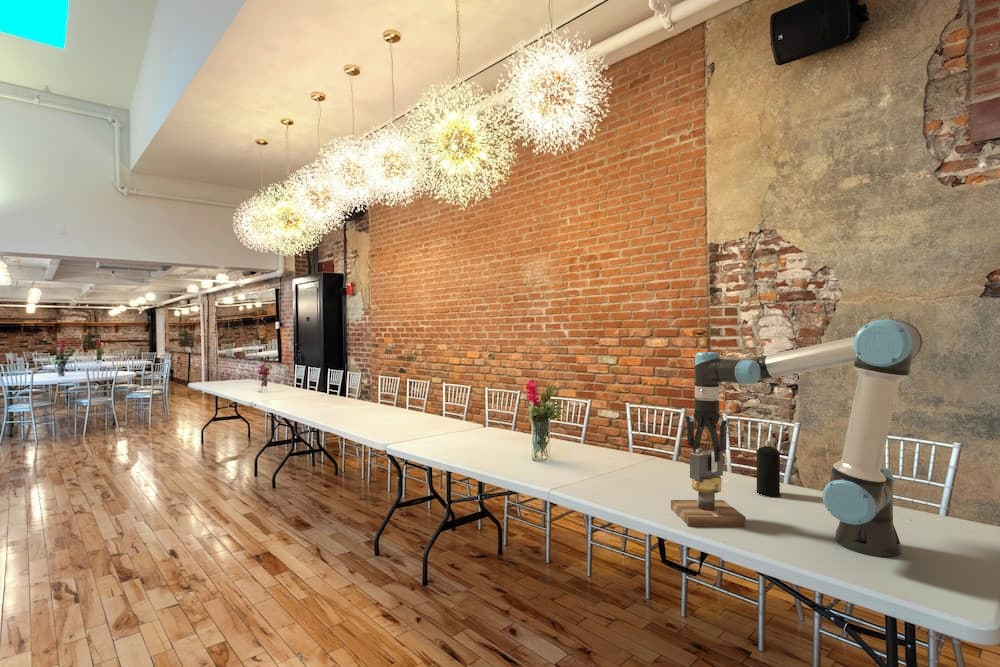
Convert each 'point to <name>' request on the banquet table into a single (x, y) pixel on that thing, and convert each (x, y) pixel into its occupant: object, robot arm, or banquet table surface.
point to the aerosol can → (768, 470)
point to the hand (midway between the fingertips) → (706, 469)
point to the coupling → (705, 472)
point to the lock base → (707, 511)
